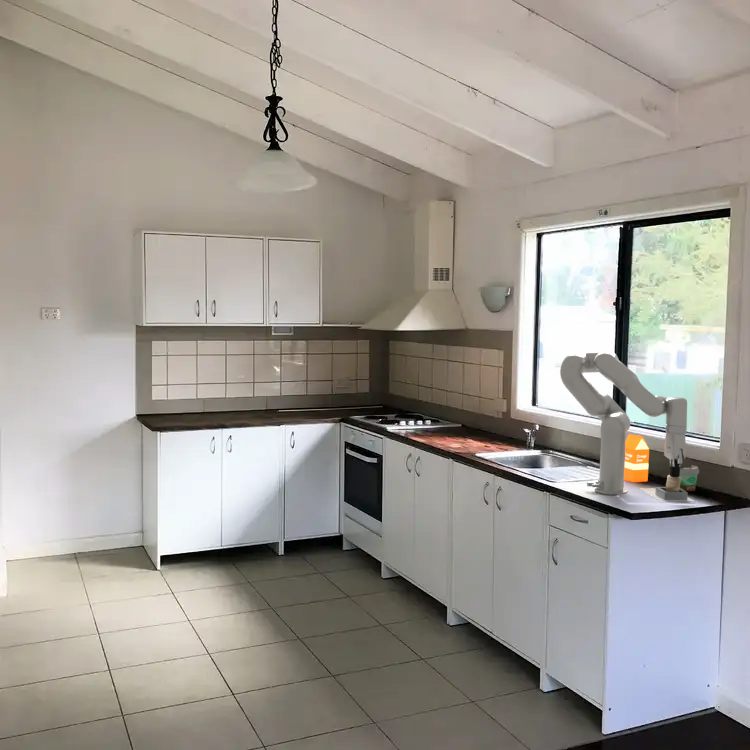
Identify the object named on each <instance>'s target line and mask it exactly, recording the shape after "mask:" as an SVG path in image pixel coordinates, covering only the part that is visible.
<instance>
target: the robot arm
mask: <svg viewBox="0 0 750 750" xmlns="http://www.w3.org/2000/svg"><path fill="white" fill-rule="evenodd" d="M584 373H585V374H587V373H589V374H590V373H599V374H601V375H602V377H604V378H605V379H606V380H608V381H609V382H610V383H611V384H612V385H613V386H615V387H616V388H617V389H619V391H621V392H622V394H623V395H624V396H625V397H626V398H627V399H628V400H629V401H631V403H632V404H633V405H635V406H636V407H637V408H638V409H639V410H640V411H642V413H644V414H645V415H647V416H649V417H652V418H657V417H660V416H661V415H665V439H664V448H663V449H664V450H663V456H665V458H667V459H668V460H669V475H670V476H671V477H680V468H681V465H682V464H683V460H685V459H686V454H687V452H686V451H687V450H686V446H687V445H686V443H687V442H686V435H687V428H688V427H687V425H688V422H687V421H688V419H687V418H688V400H687V399H686V398H684V397H677V396H676V397H674V396H673V397H667V396H663V395H661V396H660V395H654V394H653V393H652V392H650V391H649V390H648V389H647V388H646V387H645V386H644V385H643V384H642V383H641V382H640V379H639V378H638V376H637V374H635V373H634V372H633V371H632V370H631V369H630V368H629V367H628V366H626V365H625V364H624V363H623V362H621V361H620V360H619V357H618V356H617V353H615V352H614V351H608V350H605V351H588V352H586V351H585V352H574V353H571V354H569V355H567V356H566V357H565V358H564V359H563V361H562V362H561V364H560V371H559V374H560V379H561V381H562V384H563V385H564V387H565V388H566V389H567V391H569V392H570V394H571V395H572V396H573V398H575V400H576V401H577V402H578V403H579V404H580V406H581V407H582V408H583V409H584V410H585V411H586V413H587V414H589V416H592V417H595V418H598V419H599V421H600V422H601V424H600V458H599V459H600V460H599V478H598V479H596V480H595V481H587V482H586V486H587V487H592V488H594V491H595V492H597V493H598V494H601V493H602V495H607V494H609V495H610V496H618V495H622V494H623V495H624V494H627V493H628V489H626V488H624V487H625V485H624V484H625V480H624V470H625V449H626V439H627V438H626V434H627V432H628V430H629V429H630V427H631V420H630V417H629V415H627V413H626V412H625V411H624V410H623V409H622V407H620V406H619V404H618V403H617V402H616V401H615V400H614V398H612V397H611V396H610V395H609V394H608V393H606V392H603V391H598V390H597V389H596V388H595V387H594V386H593V385H592V383H591V382H590V381H589V380H588V379H587V378H585V376H584V375H583V374H584Z"/></svg>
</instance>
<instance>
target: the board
mask: <svg viewBox="0 0 750 750" xmlns="http://www.w3.org/2000/svg"><path fill="white" fill-rule="evenodd" d="M638 489H639V490H641V491H642V492H644V493H645V494H647V495H649V496H651V497H652V498H653V499H656V500H657V501H660V502H695V500H694V499H692V498H691V497H689V496H688V497H687V500H664V499H662V498H660V497H659V496H657V495H655V491H656V487H655V488H652V487H649V488H648V487H639V488H638Z"/></svg>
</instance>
